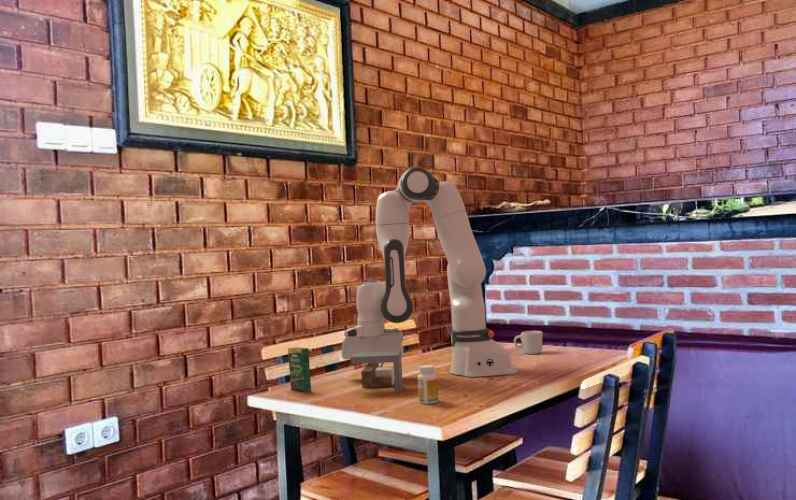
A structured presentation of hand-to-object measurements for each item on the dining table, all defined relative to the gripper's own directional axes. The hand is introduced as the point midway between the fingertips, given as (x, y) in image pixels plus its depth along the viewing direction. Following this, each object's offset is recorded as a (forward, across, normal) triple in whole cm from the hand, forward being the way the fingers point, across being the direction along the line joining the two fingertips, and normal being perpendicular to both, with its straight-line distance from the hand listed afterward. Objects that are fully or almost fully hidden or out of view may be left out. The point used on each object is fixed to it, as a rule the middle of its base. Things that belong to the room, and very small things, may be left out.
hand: (373, 371), depth 213 cm
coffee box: (+2, +21, +14) cm, 26 cm away
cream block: (+2, -5, +10) cm, 11 cm away
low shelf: (+2, -4, +19) cm, 20 cm away
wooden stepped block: (+2, -3, +6) cm, 7 cm away
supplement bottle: (+2, -20, +35) cm, 41 cm away
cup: (+2, -54, -37) cm, 65 cm away
